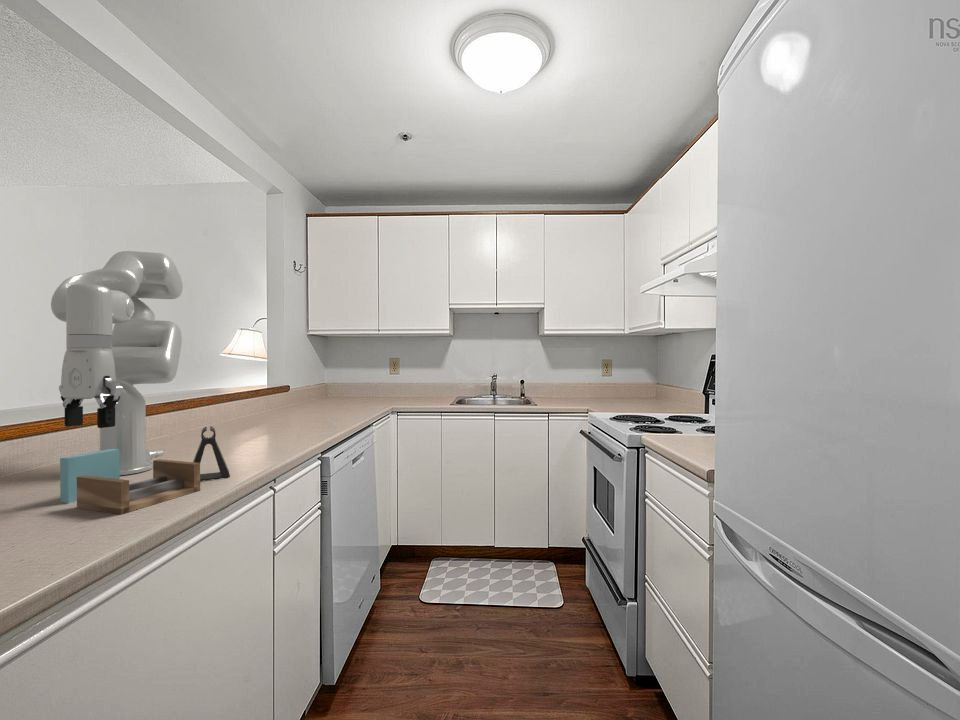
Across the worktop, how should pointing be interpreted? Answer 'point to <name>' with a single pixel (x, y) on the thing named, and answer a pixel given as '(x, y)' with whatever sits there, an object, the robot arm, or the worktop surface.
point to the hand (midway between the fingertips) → (89, 426)
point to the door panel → (86, 470)
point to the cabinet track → (138, 488)
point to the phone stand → (219, 458)
